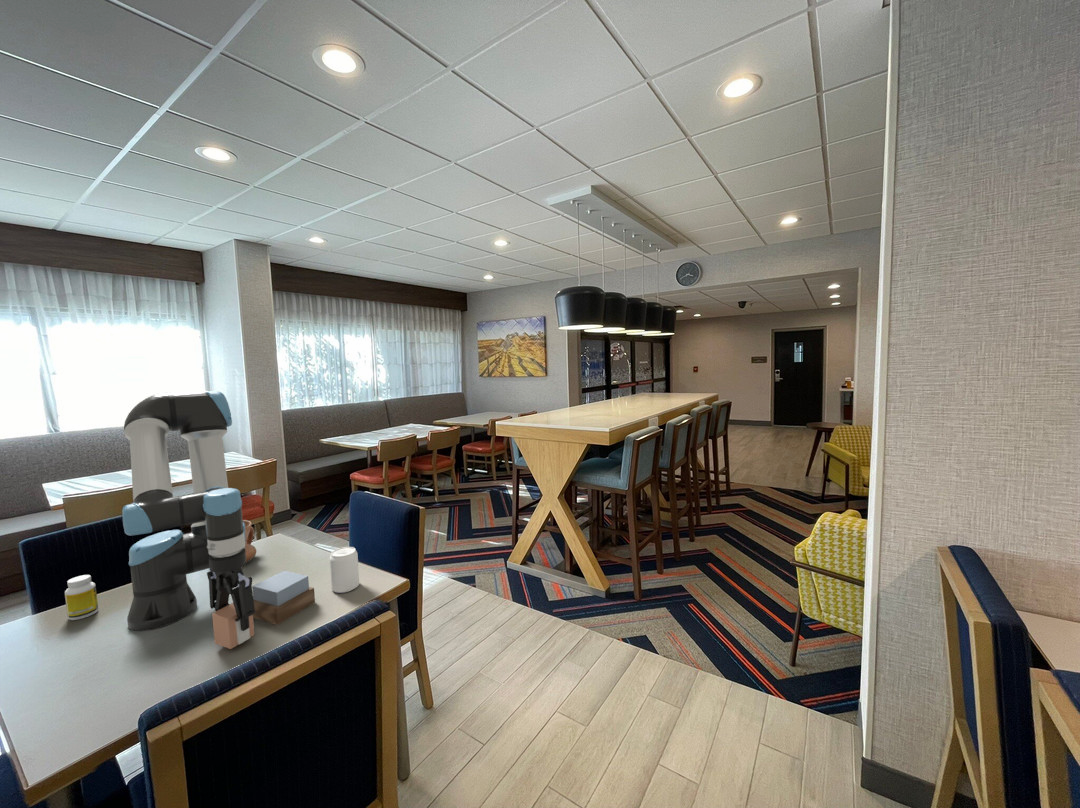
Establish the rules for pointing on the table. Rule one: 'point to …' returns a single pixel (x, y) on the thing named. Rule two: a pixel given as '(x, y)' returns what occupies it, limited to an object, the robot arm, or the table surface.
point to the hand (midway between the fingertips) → (234, 637)
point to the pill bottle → (81, 598)
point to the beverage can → (344, 569)
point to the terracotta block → (228, 626)
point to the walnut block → (283, 608)
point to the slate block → (280, 588)
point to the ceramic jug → (249, 541)
